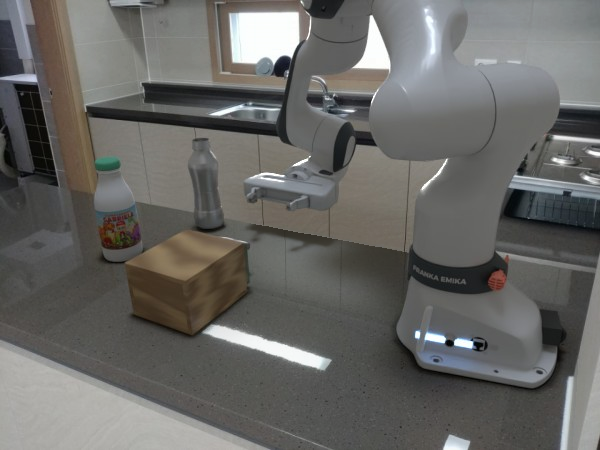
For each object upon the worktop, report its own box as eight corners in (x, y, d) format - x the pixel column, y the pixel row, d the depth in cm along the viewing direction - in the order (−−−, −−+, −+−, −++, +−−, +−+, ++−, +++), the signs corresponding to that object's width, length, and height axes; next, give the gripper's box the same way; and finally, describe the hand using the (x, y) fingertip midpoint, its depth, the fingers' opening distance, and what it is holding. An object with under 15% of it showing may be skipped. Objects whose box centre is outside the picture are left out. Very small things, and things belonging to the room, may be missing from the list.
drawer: (215, 259, 104) (211, 222, 101) (264, 271, 99) (261, 233, 96) (147, 302, 90) (141, 261, 87) (200, 320, 84) (195, 277, 81)
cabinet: (192, 276, 100) (186, 229, 96) (247, 292, 94) (243, 242, 90) (133, 314, 88) (124, 262, 84) (192, 335, 82) (185, 280, 78)
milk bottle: (97, 254, 109) (78, 159, 102) (133, 242, 114) (117, 151, 106) (113, 266, 104) (95, 168, 96) (150, 254, 109) (135, 159, 101)
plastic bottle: (219, 233, 117) (210, 144, 109) (190, 231, 119) (179, 143, 111) (228, 221, 123) (221, 136, 115) (201, 220, 124) (191, 135, 116)
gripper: (263, 162, 121) (225, 181, 110) (344, 175, 112) (312, 196, 101) (264, 189, 124) (228, 209, 113) (344, 203, 114) (313, 227, 103)
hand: (268, 203), depth 107 cm, fingers open, 8 cm apart
